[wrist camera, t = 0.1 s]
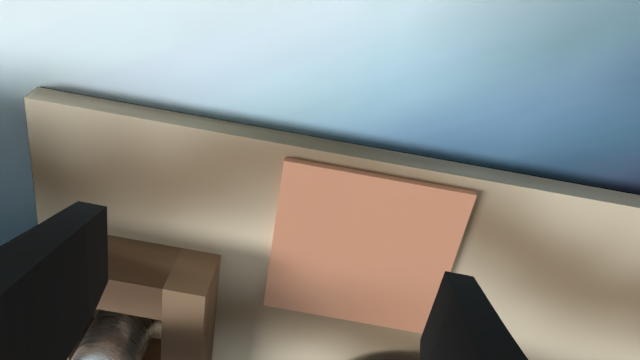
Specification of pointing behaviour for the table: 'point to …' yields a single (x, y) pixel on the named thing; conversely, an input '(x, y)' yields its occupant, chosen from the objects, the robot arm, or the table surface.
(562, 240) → the board
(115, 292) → the socket block
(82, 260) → the robot arm
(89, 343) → the key peg
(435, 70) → the table surface
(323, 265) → the tile
